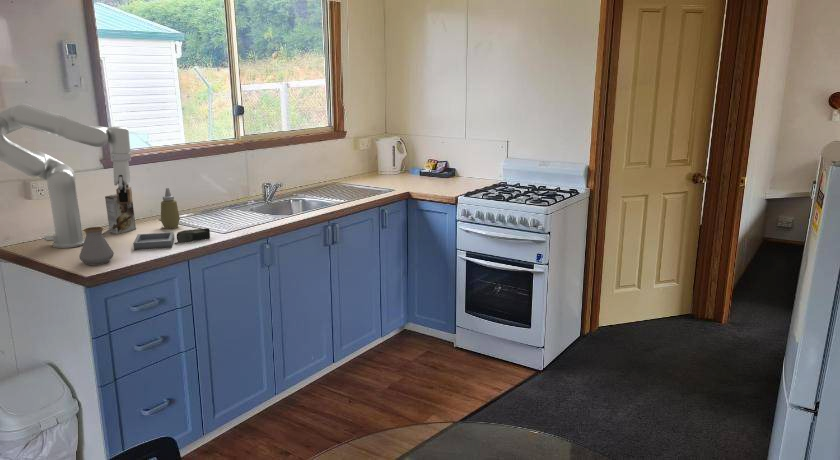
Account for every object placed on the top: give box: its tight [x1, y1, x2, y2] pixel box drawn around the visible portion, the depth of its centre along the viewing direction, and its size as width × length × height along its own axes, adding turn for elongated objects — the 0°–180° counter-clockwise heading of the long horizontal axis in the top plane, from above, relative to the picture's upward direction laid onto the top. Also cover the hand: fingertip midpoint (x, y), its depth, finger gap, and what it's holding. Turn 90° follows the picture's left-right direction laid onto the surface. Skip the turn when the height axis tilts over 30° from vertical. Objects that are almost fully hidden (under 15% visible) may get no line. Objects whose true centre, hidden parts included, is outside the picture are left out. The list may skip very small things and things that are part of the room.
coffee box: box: [104, 193, 137, 235], centre depth 272 cm, size 9×6×16 cm
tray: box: [132, 231, 175, 251], centre depth 253 cm, size 14×14×3 cm
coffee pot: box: [79, 216, 134, 266], centre depth 233 cm, size 21×12×15 cm, turn 145°
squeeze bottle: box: [160, 187, 181, 229], centre depth 279 cm, size 8×8×18 cm
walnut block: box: [115, 186, 133, 204], centre depth 258 cm, size 5×5×6 cm
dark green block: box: [174, 227, 211, 245], centre depth 259 cm, size 5×3×15 cm
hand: (124, 200), depth 258 cm, fingers closed on walnut block, 5 cm apart
